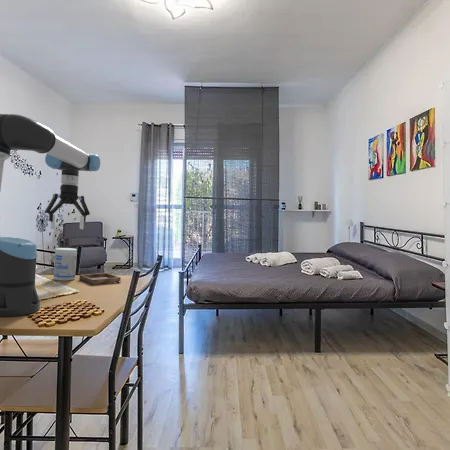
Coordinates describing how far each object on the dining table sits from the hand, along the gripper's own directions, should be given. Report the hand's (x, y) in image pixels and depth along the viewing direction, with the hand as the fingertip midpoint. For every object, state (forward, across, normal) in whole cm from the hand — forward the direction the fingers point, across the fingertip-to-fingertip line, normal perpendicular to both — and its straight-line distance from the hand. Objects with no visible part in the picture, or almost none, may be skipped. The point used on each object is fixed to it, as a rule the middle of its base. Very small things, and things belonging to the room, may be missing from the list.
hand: (67, 229), depth 168 cm
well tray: (+24, +12, -12) cm, 30 cm away
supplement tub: (+24, 0, 0) cm, 24 cm away
